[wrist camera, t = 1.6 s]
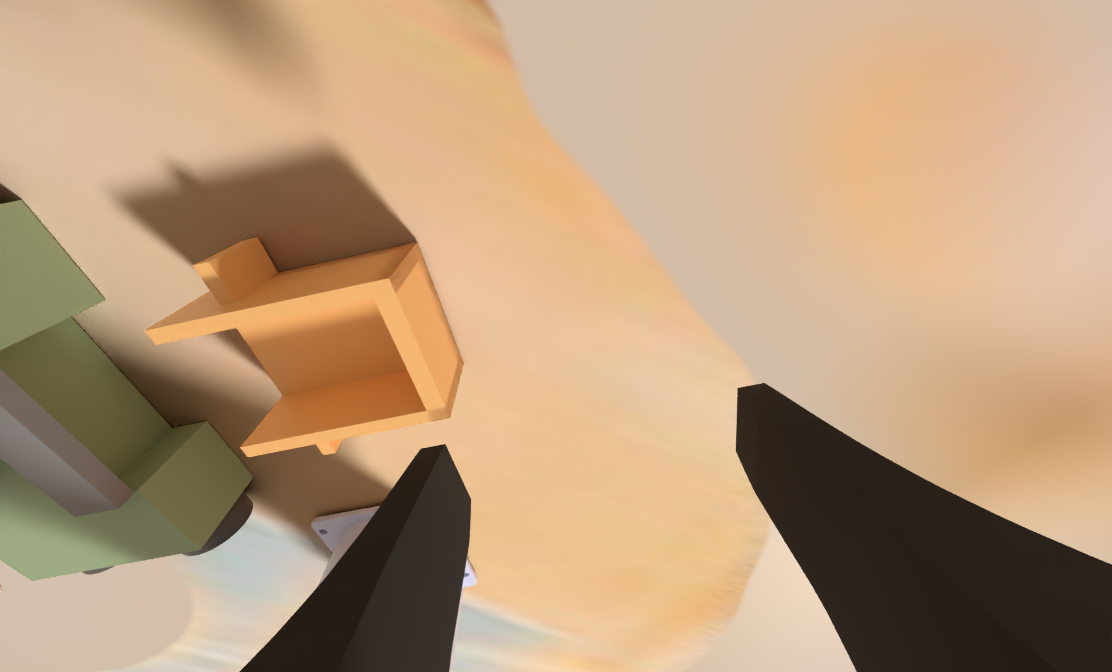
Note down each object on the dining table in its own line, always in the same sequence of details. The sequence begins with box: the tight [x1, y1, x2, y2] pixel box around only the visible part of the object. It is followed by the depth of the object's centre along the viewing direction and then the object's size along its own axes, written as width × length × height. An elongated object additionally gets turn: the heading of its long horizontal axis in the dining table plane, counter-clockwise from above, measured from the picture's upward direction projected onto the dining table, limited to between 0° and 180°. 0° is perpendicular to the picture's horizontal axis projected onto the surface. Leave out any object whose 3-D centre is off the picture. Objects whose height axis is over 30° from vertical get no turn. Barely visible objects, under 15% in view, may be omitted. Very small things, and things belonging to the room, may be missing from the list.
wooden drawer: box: [145, 237, 464, 457], centre depth 18 cm, size 10×9×4 cm
